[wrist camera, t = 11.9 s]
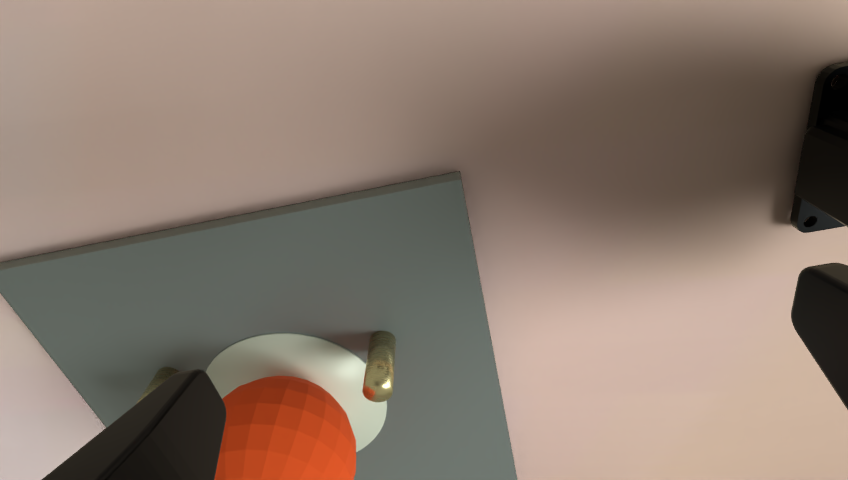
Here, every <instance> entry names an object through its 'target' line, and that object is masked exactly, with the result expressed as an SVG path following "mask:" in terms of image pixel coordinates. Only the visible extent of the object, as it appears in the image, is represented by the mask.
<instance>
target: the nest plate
mask: <svg viewBox="0 0 848 480" xmlns="http://www.w3.org/2000/svg"><path fill="white" fill-rule="evenodd" d="M0 293H1V294H2V296H3V297H4V298H5V299H6V301H7V302H8V303H9V305H10V306H11V307H12V308H13V310H14V311H15V312H16V313H17V315H18V316H19V317H20V319H21V320H22V321H23V322H24V324H25V325H26V326H27V327H28V329H29V330H30V331H31V332H32V334H33V335H34V336H35V338H36V339H37V340H38V341H39V343H40V344H41V345H42V346H43V348H44V349H45V350H46V352H47V353H48V354H49V355H50V357H51V358H52V359H53V360H54V362H55V363H56V364H57V366H58V367H59V368H60V369H61V371H62V372H63V373H64V374H65V376H66V377H67V378H68V379H69V381H70V382H71V383H72V385H73V386H74V387H75V388H76V390H77V391H78V392H79V393H80V395H81V396H82V397H83V399H84V400H85V401H86V402H87V404H88V405H89V406H90V407H91V409H92V410H93V411H94V412H95V414H96V415H97V416H98V418H99V419H100V420H101V421H102V423H103V424H104V425H105V426H106V428H107V427H108V426H109V425H111V424H112V423H113V422H114V421H116V420H117V419H118V418H119V417H121V416H122V415H123V414H124V413H126V412H127V411H128V410H129V409H131V408H132V407H133V406H134V405H136V403H137V402H138V400H139V399H140V397H141V396H142V394H143V393H144V391H145V390H146V388H147V387H148V385H149V384H150V382H151V380H152V379H153V377H154V376H155V374H156V373H157V371H158V370H159V369H160V368H163V367H171V368H174V369H176V370H178V371H179V372H181V371H187V370H193V369H202V370H203V371H205V372H206V373H207V374H208V376H209V378H210V379H211V381H212V383H213V384H214V386H215V388H216V389H217V391H218V393H219V395H220V396H221V398H224V397H225V396H226V395H227V394H229V393H230V392H232V391H233V390H234V389H236V388H237V387H239V386H241V385H244V384H247V383H249V382H252V381H255V380H258V379H261V378H264V377H271V376H293V377H297V378H301V379H305V380H308V381H310V382H312V383H315V384H317V385H319V386H321V387H322V388H323V389H324V390H326V391H327V392H328V393H330V394H331V395H332V396H333V397H334V399H335V400H336V401H337V402H338V403H339V404H340V406H341V407H342V408H343V409H344V411H345V412H346V414H347V417H348V419H349V422H350V425H351V428H352V431H353V433H354V436H355V439H356V473H355V476H354V480H517V475H516V470H515V465H514V459H513V454H512V449H511V443H510V438H509V433H508V427H507V422H506V417H505V411H504V406H503V401H502V395H501V390H500V385H499V379H498V374H497V369H496V363H495V358H494V353H493V347H492V342H491V336H490V331H489V326H488V320H487V315H486V310H485V304H484V299H483V294H482V288H481V283H480V278H479V272H478V267H477V262H476V256H475V251H474V246H473V240H472V235H471V230H470V224H469V219H468V213H467V208H466V203H465V197H464V192H463V187H462V181H461V176H460V171H459V172H454V173H449V174H444V175H439V176H434V177H429V178H424V179H419V180H414V181H409V182H404V183H399V184H394V185H389V186H384V187H379V188H374V189H369V190H364V191H359V192H354V193H349V194H344V195H339V196H334V197H329V198H324V199H318V200H313V201H308V202H303V203H298V204H293V205H288V206H283V207H278V208H273V209H268V210H263V211H258V212H253V213H248V214H243V215H238V216H233V217H228V218H223V219H218V220H213V221H208V222H203V223H198V224H193V225H188V226H183V227H178V228H173V229H168V230H163V231H158V232H153V233H147V234H142V235H137V236H132V237H127V238H122V239H117V240H112V241H107V242H102V243H97V244H92V245H87V246H82V247H77V248H72V249H67V250H62V251H57V252H52V253H47V254H42V255H37V256H32V257H27V258H22V259H17V260H12V261H7V262H2V263H0ZM377 331H388V332H390V333H392V334H393V335H394V336H395V338H396V350H395V365H394V379H393V393H392V396H391V397H390V398H389V399H388V400H386V401H384V402H372V401H370V400H368V399H366V398H365V397H364V395H363V392H362V390H363V383H364V376H365V369H366V362H367V355H368V348H369V340H370V337H371V335H372V334H373V333H375V332H377Z"/></svg>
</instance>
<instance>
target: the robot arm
mask: <svg viewBox="0 0 848 480" xmlns="http://www.w3.org/2000/svg"><path fill="white" fill-rule="evenodd" d="M837 75H838V80H837V82H836V83H835V84H834V85H832V86H831V82H832V80H833V79H834V78H835V77H836V76H837ZM808 217H810V218H809V219H808V220H807V221H806V222H804V221H805V219H807V218H808ZM791 224H792V226H793V227H795V228H796V229H798V230H799V231H801V232H803V233H806V232H814V231H820V230H825V229H831V228H837V227H843V226H847V227H848V62H844V63H839V64H834V65H831V66H829V67H827V68H825V69H824V70H823V71H821V73H820V74H819V75H818V77H817V79H816V82H815V87H814V92H813V98H812V103H811V109H810V114H809V120H808V126H807V131H806V134H805V137H804V142H803V148H802V153H801V159H800V165H799V170H798V176H797V181H796V187H795V198H794V203H793V209H792V214H791ZM791 318H792V323H793V326H794V328H795V330H796V332H797V333H798V335H799V336H800V338H801V339H802V341H803V342H804V344H805V345H806V347H807V349H808V350H809V352H810V353H811V355H812V356H813V358H814V359H815V361H816V362H817V364H818V365H819V367H820V368H821V370H822V371H823V373H824V374H825V376H826V377H827V379H828V380H829V382H830V384H831V385H832V387H833V388H834V390H835V391H836V393H837V394H838V396H839V397H840V399H841V400H842V402H843V403H844V405H845V406H846V408H847V409H848V265H844V264H840V263H829V264H823V265H817V266H811V267H807V268H805V269H803V270H802V271H801V273H800V274H799V277H798V281H797V286H796V291H795V296H794V301H793V306H792V311H791ZM225 422H226V407H225V404H224V401H223V400H222V398H221V396H220V395H219V393H218V391H217V389H216V388H215V386H214V384H213V383H212V381H211V379H210V378H209V376H208V374H207V373H206V372H205V371H203V370H202V369H193V370H187V371H181V372H177V373H175V374H173V375H172V376H170V377H169V378H168V379H167V380H165V381H164V382H163V383H162V384H160V385H159V386H158V387H157V388H155V389H154V390H153V391H152V392H150V393H149V394H148V395H147V396H145V397H144V398H143V399H142V400H141V401H139V402H138V403H137V404H136V405H134V406H133V407H132V408H131V409H129V410H128V411H127V412H126V413H124V414H123V415H122V416H121V417H119V418H118V419H117V420H116V421H114V422H113V423H112V424H111V425H109V426H108V427H107V428H106V429H104V430H103V431H102V432H101V433H99V434H98V435H97V436H96V437H94V438H93V439H92V440H91V441H89V442H88V443H87V444H86V445H84V446H83V447H82V448H81V449H79V450H78V451H77V452H76V453H74V454H73V455H72V456H71V457H69V458H68V459H67V460H66V461H64V462H63V463H62V464H61V465H59V466H58V467H57V468H56V469H54V470H53V471H52V472H51V473H49V474H48V475H47V476H46V477H44V478H43V479H42V480H214V479H215V474H216V469H217V464H218V458H219V453H220V448H221V443H222V438H223V433H224V427H225Z"/></svg>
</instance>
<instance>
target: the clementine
mask: <svg viewBox="0 0 848 480" xmlns="http://www.w3.org/2000/svg"><path fill="white" fill-rule="evenodd" d="M222 400H223V401H224V404H225V407H226V422H225V427H224V433H223V438H222V443H221V448H220V453H219V458H218V464H217V469H216V474H215V479H214V480H354V476H355V473H356V439H355V436H354V433H353V431H352V428H351V425H350V422H349V419H348V417H347V414H346V412H345V411H344V409H343V408H342V407H341V406H340V404H339V403H338V402H337V401H336V400H335V399H334V397H333V396H332V395H331V394H330V393H328V392H327V391H326V390H324V389H323V388H322V387H321V386H319V385H317V384H315V383H312V382H310V381H308V380H305V379H301V378H297V377H293V376H271V377H264V378H261V379H258V380H255V381H252V382H249V383H247V384H244V385H241V386H239V387H237V388H236V389H234V390H233V391H232V392H230V393H229V394H227V395H226V396H225V397H224V398H222Z"/></svg>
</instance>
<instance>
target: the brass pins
mask: <svg viewBox="0 0 848 480" xmlns="http://www.w3.org/2000/svg"><path fill="white" fill-rule="evenodd" d="M395 350H396V338H395V336H394V335H393V334H392V333H390V332H388V331H377V332H375V333H373V334H372V335H371V337H370V340H369V348H368V355H367V362H366V369H365V376H364V383H363V390H362V392H363V395H364V397H365V398H366V399H368V400H370V401H372V402H384V401H386V400H388V399H389V398H390V397H391V396H392V393H393V379H394V365H395ZM177 372H179V371H178V370H176V369H174V368H171V367H163V368H160V369H159V370H158V371H157V373H156V374H155V376H154V377H153V379H152V380H151V382H150V384H149V385H148V387H147V388H146V390H145V391H144V393H143V394H142V396H141V397H140V399H139V400H138V402H139V401H141V400H142V399H143V398H144V397H145V396H147V395H148V394H149V393H150V392H152V391H153V390H154V389H155V388H157V387H158V386H159V385H160V384H162V383H163V382H164V381H165V380H167V379H168V378H169V377H170V376H172V375H173V374H175V373H177ZM138 402H137V403H138ZM137 403H136V404H137Z"/></svg>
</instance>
